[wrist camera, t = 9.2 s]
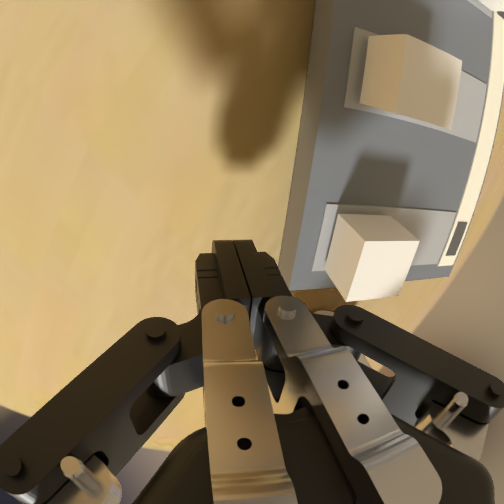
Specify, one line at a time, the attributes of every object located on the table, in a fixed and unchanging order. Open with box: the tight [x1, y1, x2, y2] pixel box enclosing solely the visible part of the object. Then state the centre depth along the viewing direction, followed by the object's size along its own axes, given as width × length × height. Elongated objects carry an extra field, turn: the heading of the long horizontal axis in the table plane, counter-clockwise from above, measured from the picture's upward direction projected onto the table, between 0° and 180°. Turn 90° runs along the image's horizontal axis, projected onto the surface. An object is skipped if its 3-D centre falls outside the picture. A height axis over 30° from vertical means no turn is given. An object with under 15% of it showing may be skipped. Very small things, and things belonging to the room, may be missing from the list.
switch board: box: [278, 0, 504, 291], centre depth 13 cm, size 22×12×2 cm, turn 174°
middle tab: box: [360, 34, 462, 130], centre depth 10 cm, size 3×3×2 cm
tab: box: [324, 214, 420, 302], centre depth 14 cm, size 3×3×2 cm
